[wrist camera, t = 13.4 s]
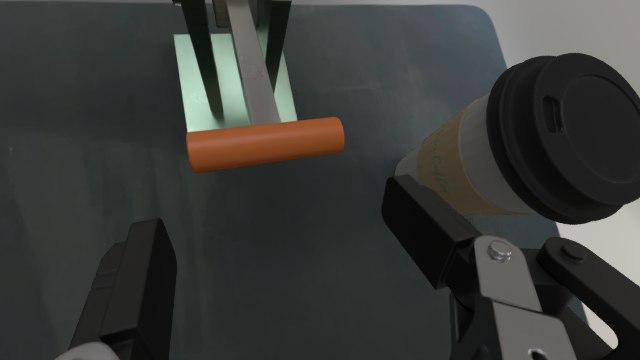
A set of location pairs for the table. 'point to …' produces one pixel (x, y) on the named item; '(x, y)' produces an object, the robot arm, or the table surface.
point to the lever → (257, 109)
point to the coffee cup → (539, 144)
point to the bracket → (228, 67)
